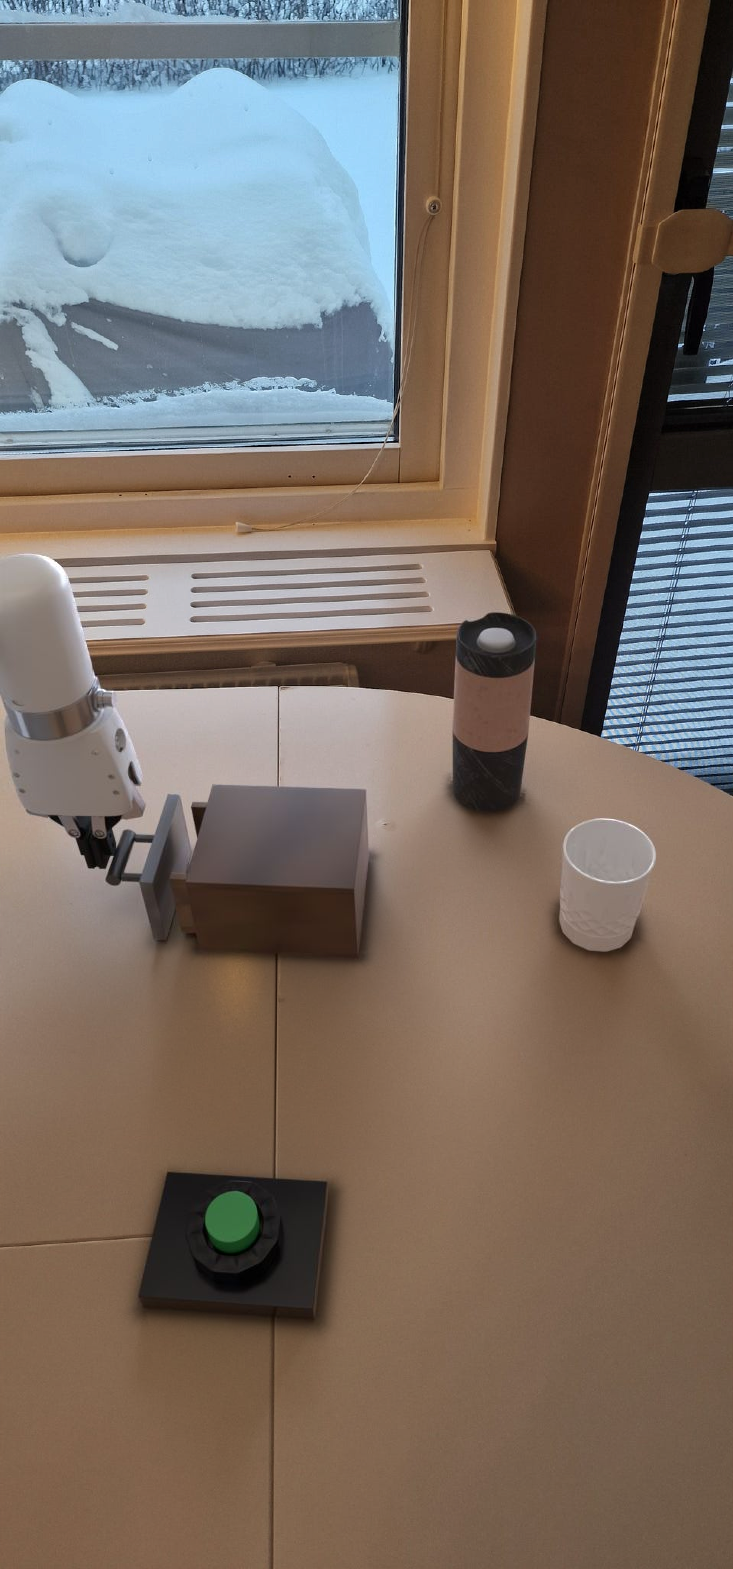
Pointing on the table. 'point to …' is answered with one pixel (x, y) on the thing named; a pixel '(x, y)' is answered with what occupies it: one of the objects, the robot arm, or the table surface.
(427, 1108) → the table surface
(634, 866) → the white cup
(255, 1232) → the button
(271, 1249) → the control block
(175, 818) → the drawer
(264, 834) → the cabinet
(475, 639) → the travel mug
